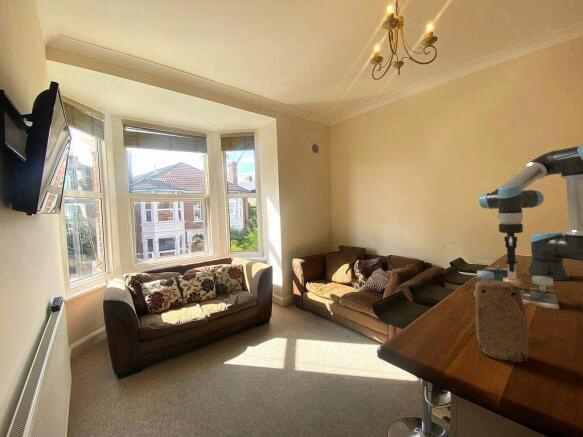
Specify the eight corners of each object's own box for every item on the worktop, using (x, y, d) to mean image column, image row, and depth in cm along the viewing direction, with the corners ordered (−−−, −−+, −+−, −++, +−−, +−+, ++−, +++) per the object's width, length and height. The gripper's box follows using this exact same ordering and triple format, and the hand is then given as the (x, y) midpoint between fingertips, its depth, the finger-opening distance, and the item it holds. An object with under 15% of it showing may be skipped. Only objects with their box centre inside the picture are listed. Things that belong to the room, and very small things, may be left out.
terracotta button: (510, 290, 109) (510, 276, 109) (526, 294, 103) (525, 280, 103) (499, 292, 108) (499, 278, 108) (514, 296, 102) (514, 282, 102)
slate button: (484, 282, 115) (484, 270, 115) (497, 286, 109) (497, 273, 109) (473, 284, 114) (473, 271, 114) (486, 288, 108) (486, 274, 108)
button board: (473, 296, 111) (473, 286, 111) (476, 290, 118) (475, 280, 118) (559, 309, 93) (558, 297, 93) (555, 301, 101) (555, 289, 101)
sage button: (539, 289, 103) (539, 275, 103) (557, 294, 97) (557, 278, 97) (528, 291, 102) (527, 276, 102) (545, 296, 96) (545, 280, 96)
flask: (509, 286, 120) (508, 264, 120) (512, 288, 117) (511, 266, 117) (486, 285, 123) (485, 264, 123) (488, 287, 121) (487, 265, 120)
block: (475, 353, 69) (472, 282, 69) (478, 342, 75) (476, 276, 74) (529, 368, 62) (526, 289, 62) (528, 354, 68) (526, 281, 67)
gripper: (499, 222, 112) (501, 274, 113) (497, 224, 102) (499, 281, 103) (522, 221, 107) (523, 276, 108) (522, 224, 97) (524, 284, 98)
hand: (512, 278), depth 105 cm, fingers closed
